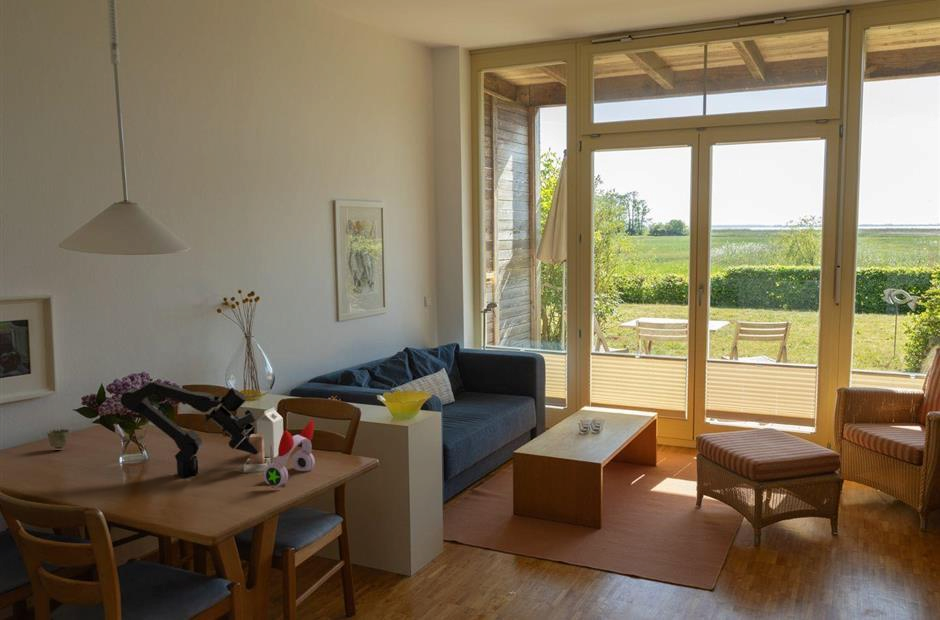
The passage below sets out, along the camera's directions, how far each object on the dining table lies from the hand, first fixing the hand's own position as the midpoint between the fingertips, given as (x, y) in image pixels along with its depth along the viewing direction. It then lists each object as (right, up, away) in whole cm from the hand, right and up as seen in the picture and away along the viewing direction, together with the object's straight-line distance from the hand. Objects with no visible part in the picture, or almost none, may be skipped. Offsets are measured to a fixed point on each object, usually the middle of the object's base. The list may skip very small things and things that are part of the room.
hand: (259, 450), depth 275 cm
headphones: (+14, -9, -9) cm, 19 cm away
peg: (-1, -7, +1) cm, 7 cm away
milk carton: (-1, -7, +19) cm, 20 cm away
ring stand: (-1, -8, +1) cm, 8 cm away
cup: (-89, -6, +32) cm, 95 cm away
